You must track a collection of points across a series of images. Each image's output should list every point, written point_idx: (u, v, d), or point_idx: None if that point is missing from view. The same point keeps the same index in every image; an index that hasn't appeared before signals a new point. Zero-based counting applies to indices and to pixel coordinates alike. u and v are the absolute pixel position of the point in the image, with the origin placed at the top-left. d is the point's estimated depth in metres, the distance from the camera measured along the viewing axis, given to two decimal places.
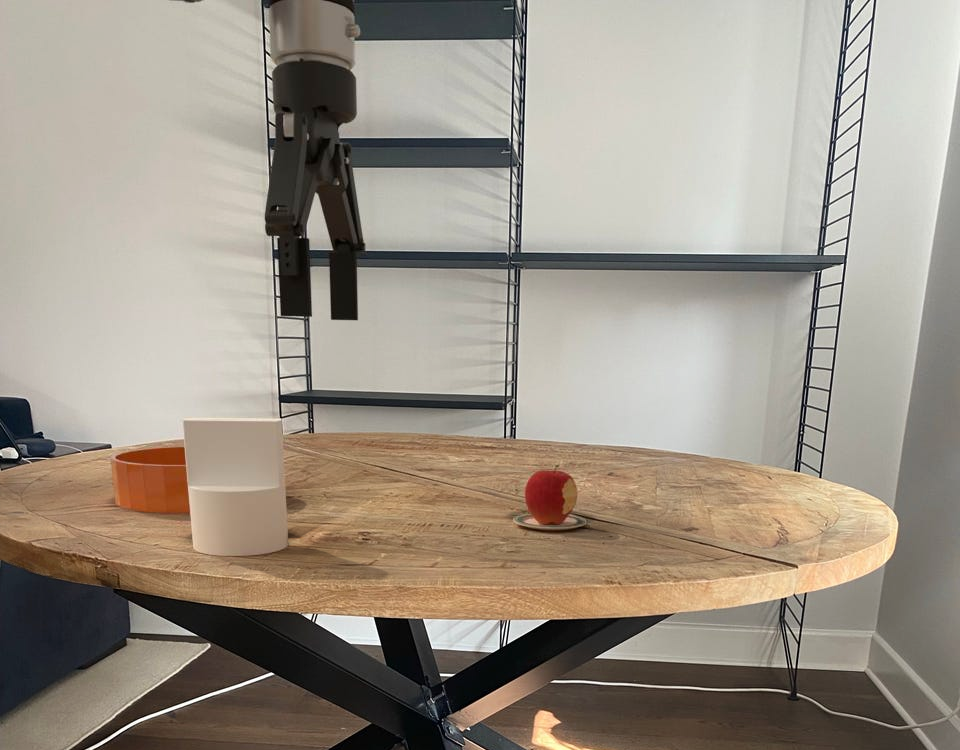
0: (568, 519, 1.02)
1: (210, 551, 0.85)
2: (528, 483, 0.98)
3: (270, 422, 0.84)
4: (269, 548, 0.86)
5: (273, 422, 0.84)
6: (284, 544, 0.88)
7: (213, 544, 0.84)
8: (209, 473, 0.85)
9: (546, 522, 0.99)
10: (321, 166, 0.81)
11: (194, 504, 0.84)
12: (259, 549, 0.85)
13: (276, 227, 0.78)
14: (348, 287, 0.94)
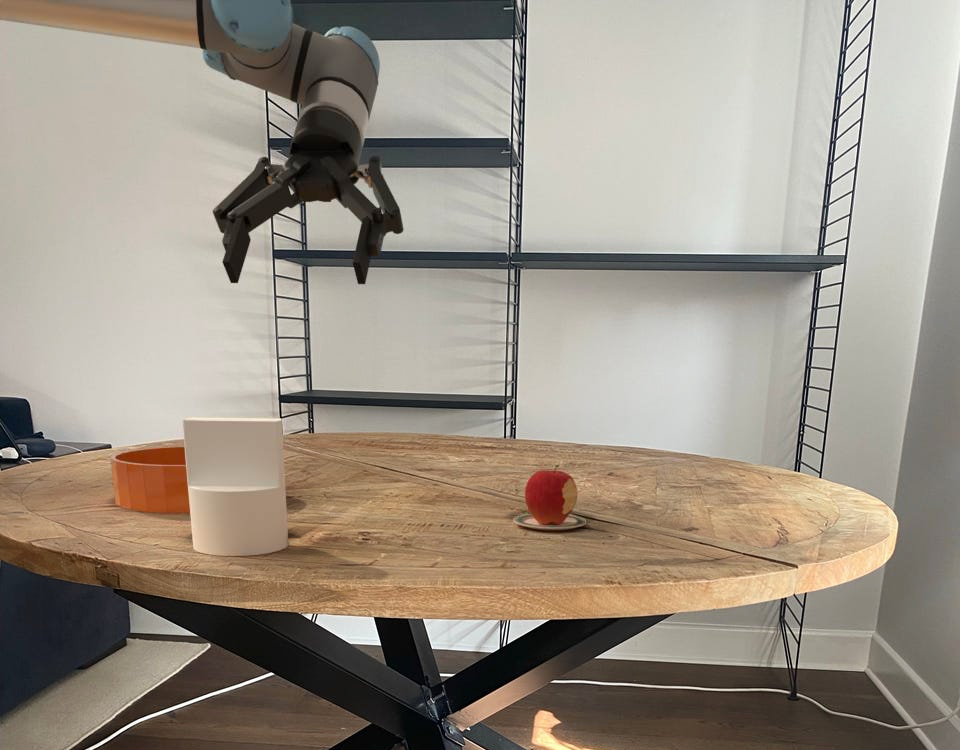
0: (568, 519, 1.02)
1: (210, 551, 0.85)
2: (528, 483, 0.98)
3: (270, 422, 0.84)
4: (269, 548, 0.86)
5: (273, 422, 0.84)
6: (284, 544, 0.88)
7: (213, 544, 0.84)
8: (209, 473, 0.85)
9: (546, 522, 0.99)
10: None
11: (194, 504, 0.84)
12: (259, 549, 0.85)
13: (391, 220, 0.94)
14: (242, 256, 0.96)
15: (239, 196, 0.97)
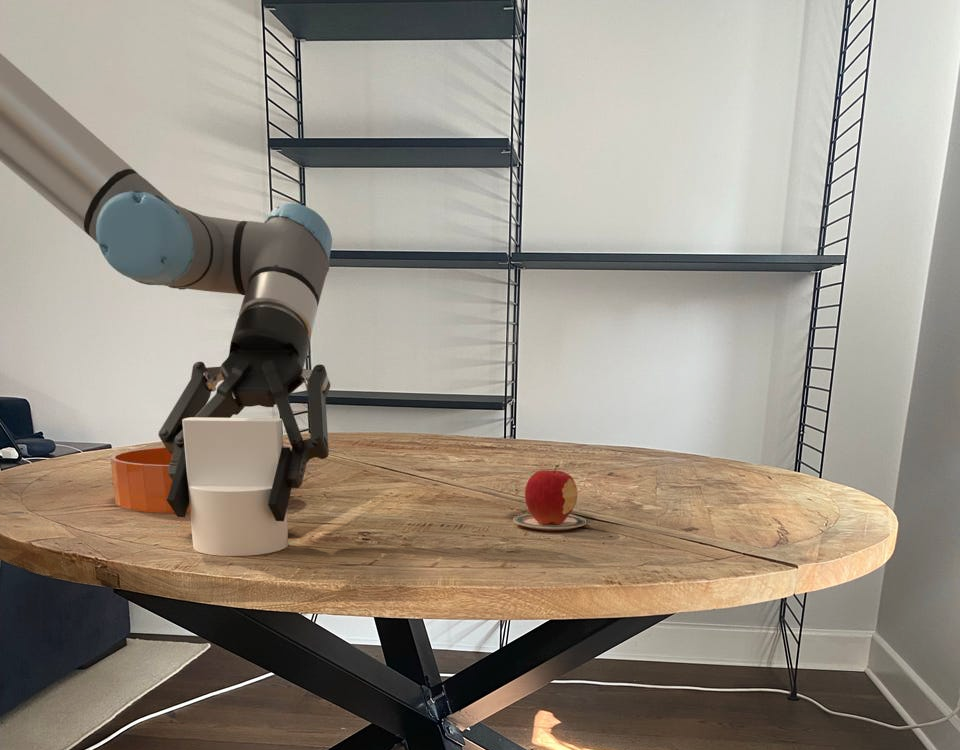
0: (568, 519, 1.02)
1: (210, 551, 0.85)
2: (528, 483, 0.98)
3: (270, 422, 0.84)
4: (269, 548, 0.86)
5: (273, 422, 0.84)
6: (284, 544, 0.88)
7: (213, 544, 0.84)
8: (209, 473, 0.85)
9: (546, 522, 0.99)
10: None
11: (194, 504, 0.84)
12: (259, 549, 0.85)
13: (314, 448, 0.86)
14: None
15: (183, 412, 0.89)
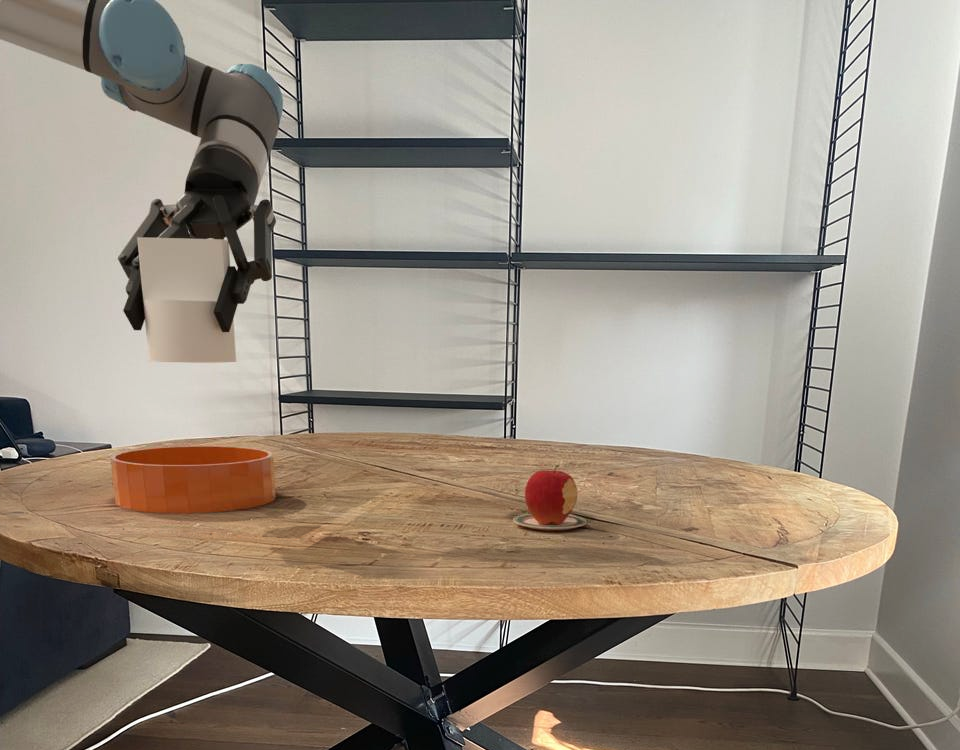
0: (568, 519, 1.02)
1: (162, 358, 0.94)
2: (528, 483, 0.98)
3: (216, 240, 0.93)
4: (216, 358, 0.95)
5: (219, 240, 0.93)
6: (231, 358, 0.97)
7: (165, 351, 0.93)
8: (162, 288, 0.94)
9: (546, 522, 0.99)
10: None
11: (148, 315, 0.94)
12: (207, 357, 0.94)
13: (257, 268, 0.95)
14: None
15: None
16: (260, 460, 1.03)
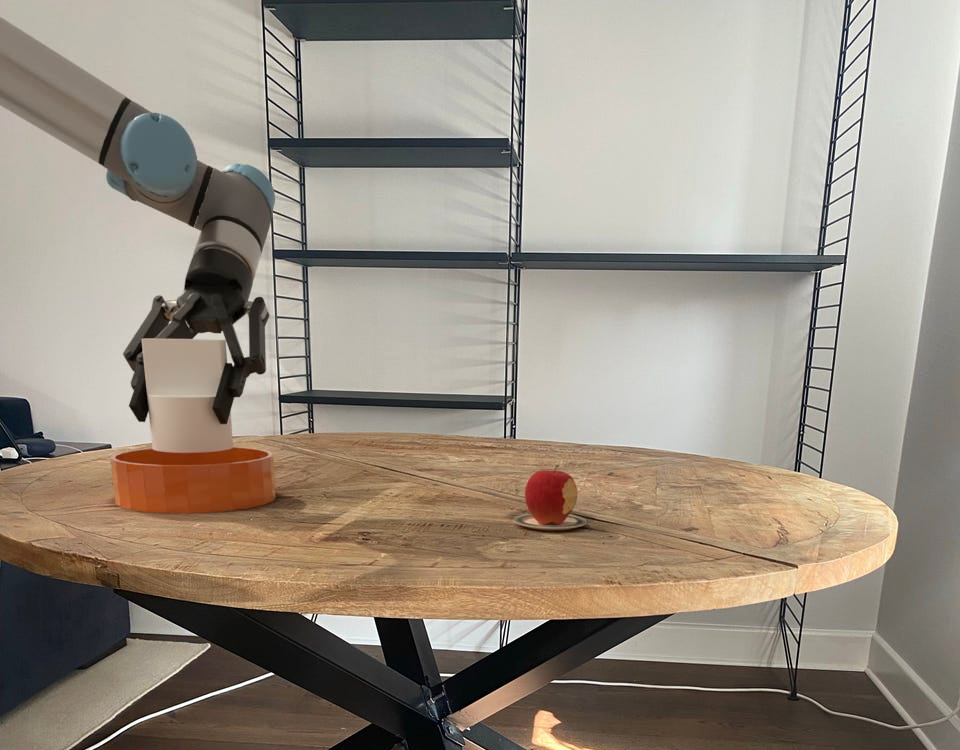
0: (568, 519, 1.02)
1: (165, 449, 1.02)
2: (528, 483, 0.98)
3: (214, 340, 1.01)
4: (215, 447, 1.03)
5: (217, 340, 1.01)
6: (228, 446, 1.05)
7: (167, 442, 1.01)
8: (164, 384, 1.02)
9: (546, 522, 0.99)
10: (235, 336, 1.08)
11: (152, 409, 1.01)
12: (206, 447, 1.02)
13: (252, 364, 1.03)
14: None
15: (144, 336, 1.06)
16: (260, 460, 1.03)
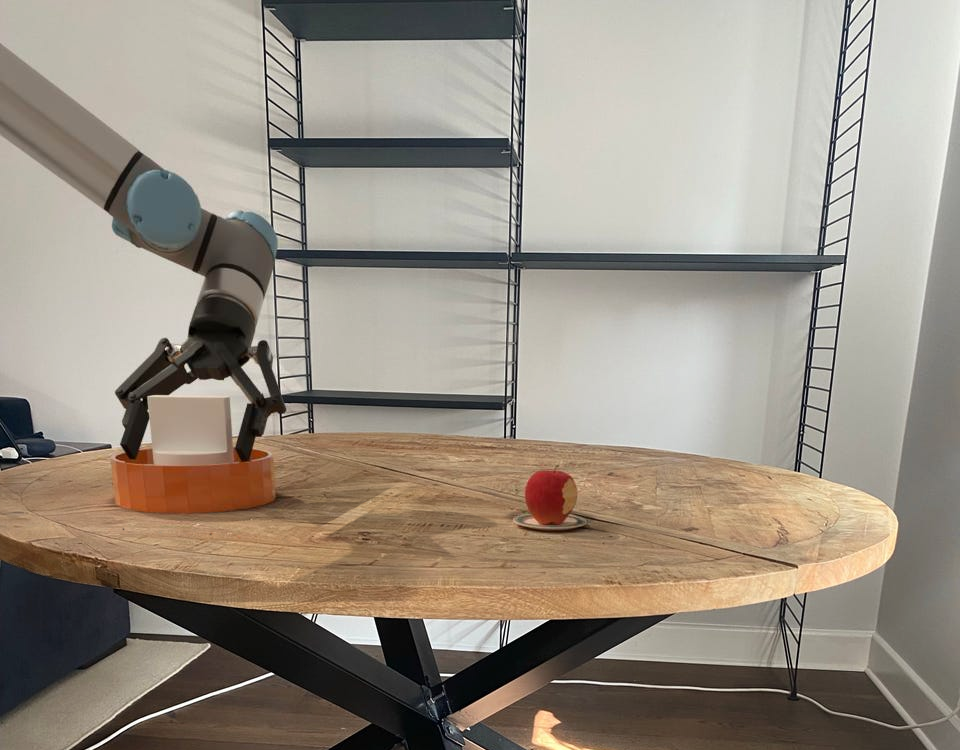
0: (568, 519, 1.02)
1: None
2: (528, 483, 0.98)
3: (219, 398, 1.03)
4: None
5: (221, 398, 1.03)
6: None
7: None
8: (170, 440, 1.04)
9: (546, 522, 0.99)
10: None
11: None
12: None
13: (274, 404, 1.05)
14: (140, 433, 1.06)
15: (140, 377, 1.08)
16: (260, 460, 1.03)
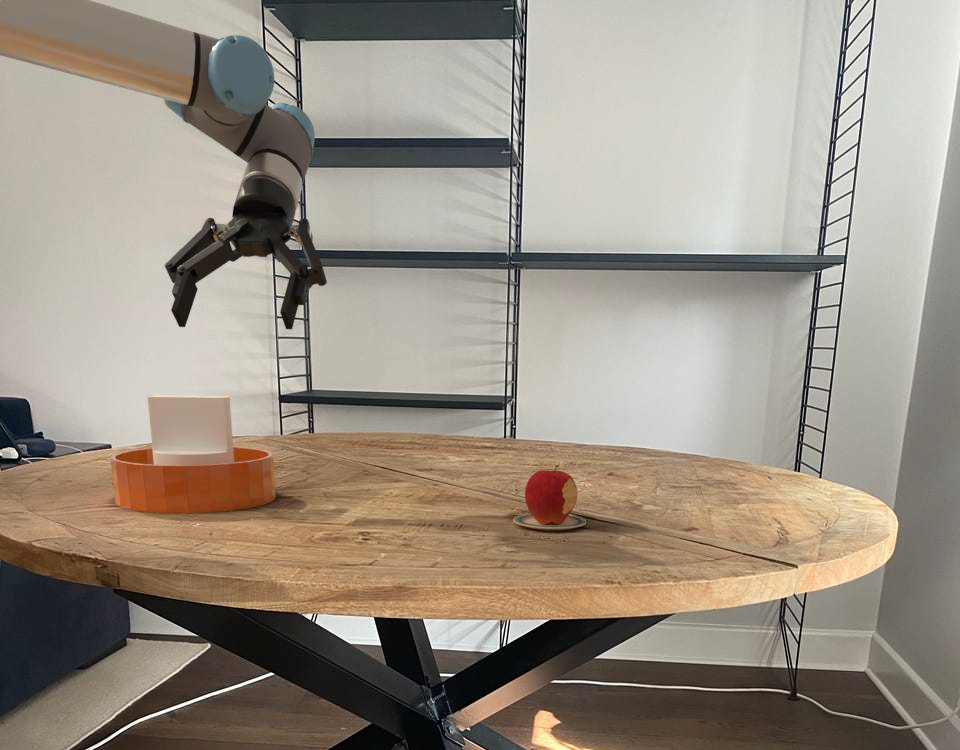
0: (568, 519, 1.02)
1: None
2: (528, 483, 0.98)
3: (219, 398, 1.03)
4: None
5: (221, 398, 1.03)
6: None
7: None
8: (170, 440, 1.04)
9: (546, 522, 0.99)
10: None
11: None
12: None
13: (315, 275, 1.12)
14: (189, 303, 1.13)
15: (188, 252, 1.14)
16: (260, 460, 1.03)
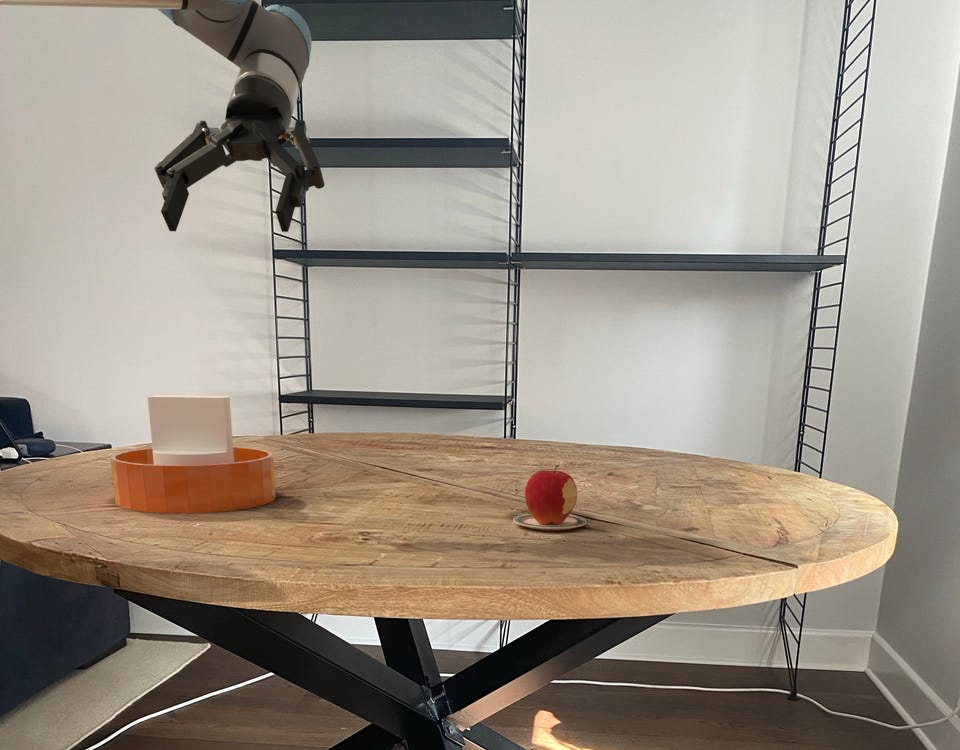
0: (568, 519, 1.02)
1: None
2: (528, 483, 0.98)
3: (219, 398, 1.03)
4: None
5: (221, 398, 1.03)
6: None
7: None
8: (170, 440, 1.04)
9: (546, 522, 0.99)
10: None
11: None
12: None
13: (313, 176, 1.06)
14: (180, 207, 1.07)
15: (178, 155, 1.09)
16: (260, 460, 1.03)
